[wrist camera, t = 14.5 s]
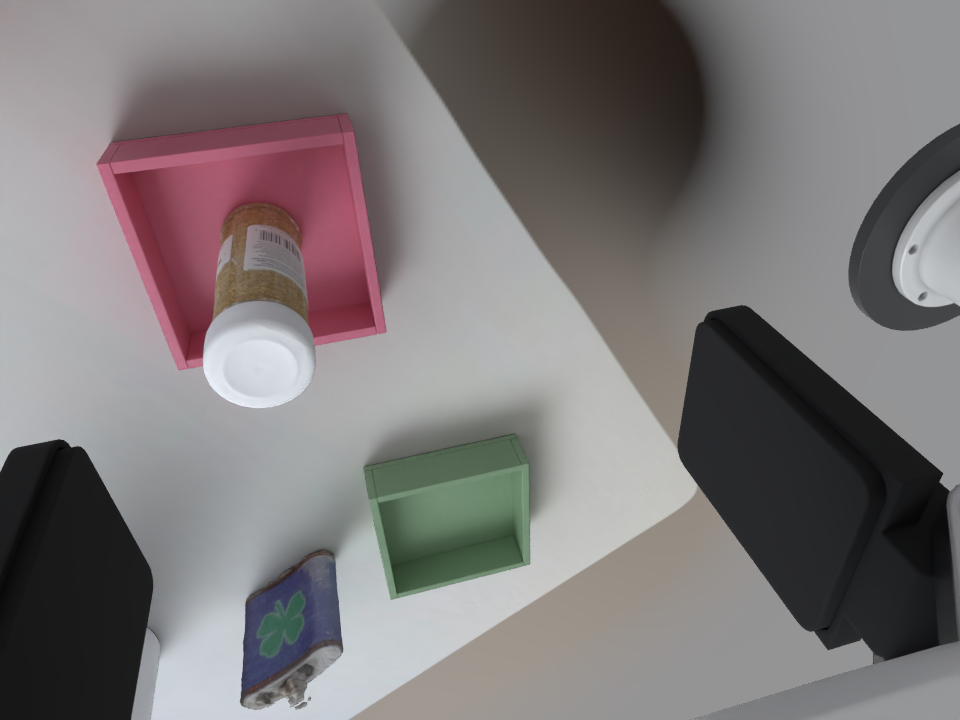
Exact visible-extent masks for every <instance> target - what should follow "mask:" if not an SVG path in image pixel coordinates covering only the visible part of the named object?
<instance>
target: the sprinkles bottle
mask: <svg viewBox="0 0 960 720" xmlns="http://www.w3.org/2000/svg"><path fill="white" fill-rule="evenodd" d="M220 243H221V249H220V252H219V258H218V266H217V275H216V288H215V304H214V312H213V320H212V323H211V325H210V327H209V328H208V330H207V333H206V337H205V343H204V353H203V369H204V373H205V376H206V378H207V380H208V382H209V384H210V385H211V387H212V388H213V389H214V390H215V391H216V392H217V393H218V394H219V395H221V396H222V397H223V398H225V399H227V400H228V401H230V402H233V403H235V404H238V405H241V406H245V407H251V408H267V407H273V406H278V405H281V404H284V403H286V402H289V401H290V400H292V399H294V398H295V397H297V396H298V395H299V394H301V393H302V392H303V391H304V390H305V389H306V387H307V386H308V385H309V383H310V381H311V380H312V378H313V375H314V371H315V363H316V360H315V345H314V338H313V334H312V332H311V329H310V327H309V324H308V299H307V289H306V278H305V269H304V261H303V256H302V253H301V248H302V234H301V231H300V228H299V226H298V224H297V222H296V221H295V220H294V219H293V218H292V216H291V215H290V214H288V213H287V212H285V210H283V209H282V208H280V207H277V206H275V205H272V204H269V203H261V202H259V203H250V204H246V205H242V206H239V207H237V208H236V209H235V210H233V211H232V212H231V213H230V214H229V215H228V217H227V219H226V220H225V221H224V223H223V225H222V227H221V232H220Z"/></svg>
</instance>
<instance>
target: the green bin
mask: <svg viewBox="0 0 960 720" xmlns="http://www.w3.org/2000/svg"><path fill="white" fill-rule="evenodd" d="M364 473H365V479H366V486H367V492H368V498H369V503H370V507H371V512H372V516H373V521H374V525H375V530H376V535H377V539H378V544H379V548H380V553H381V557H382V562H383V566H384V571H385V576H386V580H387V585H388V589H389V594H390V598H391V600H392V599H396V598H400V597H404V596H408V595H412V594H416V593H420V592H424V591H428V590H432V589H436V588H439V587H443V586H447V585H451V584H455V583H459V582H463V581H467V580H471V579H475V578H479V577H483V576H487V575H491V574H494V573H498V572H502V571H506V570H510V569H514V568H518V567H522V566H526V565H530V509H529V462H528V460H527V458H526V456H525V454H524V451H523V449H522V447H521V445H520V443H519V441H518V439H517V436H516V434H513V435H508V436H503V437H499V438H494V439H490V440H485V441H480V442H476V443H471V444H467V445H462V446H457V447H453V448H448V449H444V450H439V451H435V452H430V453H425V454H421V455H416V456H412V457H407V458H402V459H398V460H393V461H389V462H384V463H379V464H375V465H370V466H366V467H364Z"/></svg>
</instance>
